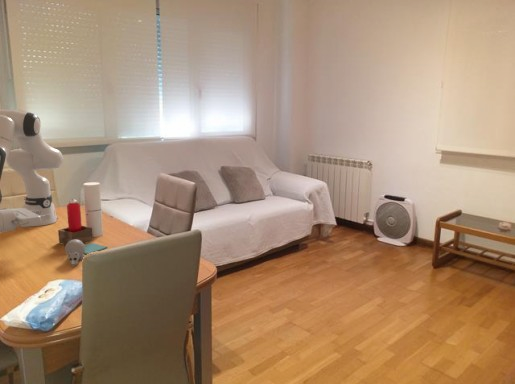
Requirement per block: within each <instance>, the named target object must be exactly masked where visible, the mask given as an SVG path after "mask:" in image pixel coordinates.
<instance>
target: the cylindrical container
mask: <svg viewBox="0 0 515 384" xmlns="http://www.w3.org/2000/svg"><path fill="white" fill-rule="evenodd" d="M83 196H84V198H83V199H84V212H85V223H86V226H85V227H90V228H92V235H93V238H95V237H101V236H102V235H104V229H103V214H102V213H103V212H102V198H101V196H102V195H101V183H100V182H95V181H93V182H92V181H91V182H90V181H89V182H85V183H83Z"/></svg>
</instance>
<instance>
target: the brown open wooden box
mask: <svg viewBox="0 0 515 384" xmlns="http://www.w3.org/2000/svg"><path fill="white" fill-rule="evenodd" d="M57 232H58V243H59V244H62V245H65V246H66V244H67V243H68V242H69V241H71V240H74V239H77V240H80V241H82V242H83V243H84V244H86V243H87V244H88V243H91V242H92V241H94V237H93V235H92V228H90V227H86V226H85V225H82V230H81V231H78V232H75V233H72V232H69V227H64V228H62V229H58V230H57Z"/></svg>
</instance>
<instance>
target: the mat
mask: <svg viewBox="0 0 515 384" xmlns="http://www.w3.org/2000/svg"><path fill="white" fill-rule="evenodd" d="M84 246H85V253H84V254H83V255H86V256H88V255H87V254H89V253H91V252H95V251H98V252H100V251H99V250H101V251H103V250H106V249H108V246H106V245H101V244H98V243H93V242H88V243H87V244H84Z"/></svg>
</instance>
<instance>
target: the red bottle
mask: <svg viewBox="0 0 515 384" xmlns="http://www.w3.org/2000/svg"><path fill="white" fill-rule="evenodd" d="M66 214H67V226H68V227H69V232H72V233H75V232H78V231H81V230H82V226H83V225H82V214H81V204H80V203H79V202H78V200H76V198H71V199H70V200H69V203H68V204H67V205H66Z"/></svg>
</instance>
